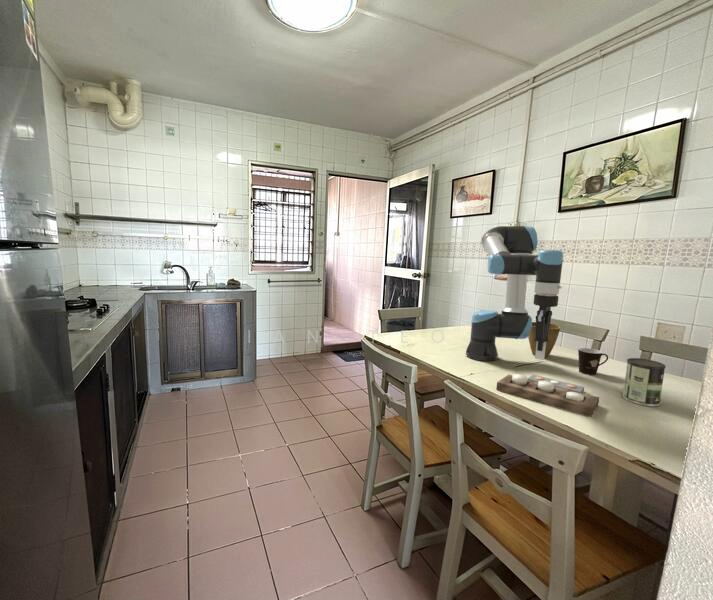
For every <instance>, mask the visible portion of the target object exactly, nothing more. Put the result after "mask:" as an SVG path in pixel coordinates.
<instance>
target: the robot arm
mask: <svg viewBox="0 0 713 600" xmlns="http://www.w3.org/2000/svg"><path fill="white" fill-rule="evenodd" d="M481 237H482V238H481V242H480V243H481V246H482V248H483V250H484V251H485V252H487V254H488V256H489V257H488V260H487V272H488V274H492V275H494V274H495V275H499V276H500V275H507V277H506V291H505V292H506V294H505V306H504V308H503V309H501V313H498V311H497V310H493V309H485V310H484V309H483V310H477V311H474V312H473V313H472V316H471V325H470V326H471V329H470V339H469V343H468V346H467V348H466V350H465V356H466V355H467V356H468V357H467V356H466V357H467V358H469V357H470V358H469V359H471V358H473V359H472V360H475V359H477V360H476V361H480V360H483V362H495V361H497V360H498V359H499V353H498V349H497V345H496V339H497V338H498V339H499V338H500V339H515V340H525V339H527V338H528V335H529V333H530V331H531V326H532V322H533V317H532V316H531V315H529V311H528V310H527V309H526V297H527V296H526V295H527V281H528V279H527V278H528V276H535V282H534V283H535V284H534V293H535V294H534V295H533V302H532V303H533V305H535V306H539V308H538V310H537V311H536V315H535V322H536V337H535V340H534V341H537V344H536V354H535V355H534V359H537V360H542V361H544V360H545V358H546V357H545V348H546V342H545V341H549V340H548V339H547V338H548V334H549V328H550V324H551V320H552V316H553V311H552V310H551V308H555V307H558V305H559V293H560V289H562V286H561V280H562V279H561V278H562V271H563V270H562V268H563V263H564V252H563V251H562V250H553V249H551V250H549V249H548V250H547V249H542V250H539V251H538V254H535V255H533V252H535V251H537V248H538V234H537V231H536V229H535V228H534V227H533V226H529V225H528V226H525V225H510V226H509V225H508V226H506V225H500V226H496V227H495V226H494V227H492V228H490V229H488V230H487V231H485V233H484V234H483V235H482V236H481ZM494 360H495V361H494Z"/></svg>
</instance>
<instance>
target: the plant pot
mask: <svg viewBox="0 0 713 600" xmlns="http://www.w3.org/2000/svg"><path fill="white" fill-rule="evenodd" d="M560 330H561V326H560V325H557V324H554V323H550V328H549V334H548V338H547V339H548V340H549V341H545V342H546V348H545V358H549V356H550V354H551V352H552V351H553V349H554V346H555V345H556V342H557V340H558V337H559V334H560ZM535 337H536V321H532V326H531V331H530V333H529V335H528V337H527V338H528V342H529V343H528V344H529V348H530V350H531V354H532V355H533V356H535V354H536V344H537V341H534V340H535Z"/></svg>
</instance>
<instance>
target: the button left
mask: <svg viewBox="0 0 713 600" xmlns="http://www.w3.org/2000/svg"><path fill="white" fill-rule="evenodd" d="M511 375H512V383H514V384H517V385H527V379H528V377H527V376H525V375H524V374H520V373H519V374H518V373H517V374H515V373H514V374H511Z"/></svg>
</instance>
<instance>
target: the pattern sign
mask: <svg viewBox="0 0 713 600" xmlns="http://www.w3.org/2000/svg"><path fill="white" fill-rule="evenodd" d="M527 379H529V380H533V381H537V382H538V381H548V382H552V383H553V384H554V386H556V387H560V388H564V389H568V390H572V391H576V392H580V393H584V392H585V386H582V385H579V384H574V383H570V382H566V381H562V380H558V379H553V378H549V377H545V376H540V375H537V374H531V375H530V376H529V377H527ZM584 394H585V393H584Z"/></svg>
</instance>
